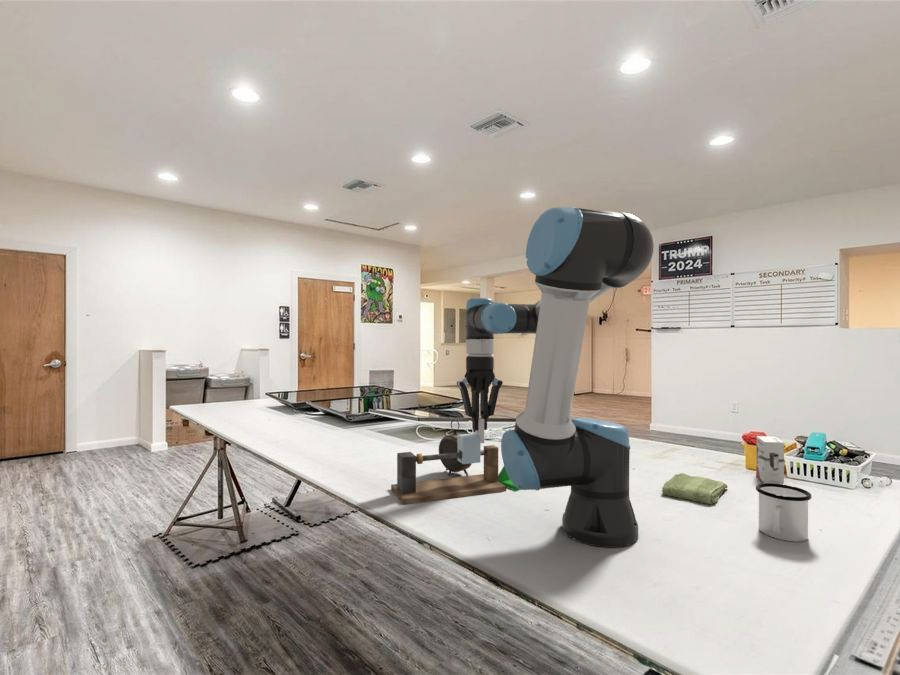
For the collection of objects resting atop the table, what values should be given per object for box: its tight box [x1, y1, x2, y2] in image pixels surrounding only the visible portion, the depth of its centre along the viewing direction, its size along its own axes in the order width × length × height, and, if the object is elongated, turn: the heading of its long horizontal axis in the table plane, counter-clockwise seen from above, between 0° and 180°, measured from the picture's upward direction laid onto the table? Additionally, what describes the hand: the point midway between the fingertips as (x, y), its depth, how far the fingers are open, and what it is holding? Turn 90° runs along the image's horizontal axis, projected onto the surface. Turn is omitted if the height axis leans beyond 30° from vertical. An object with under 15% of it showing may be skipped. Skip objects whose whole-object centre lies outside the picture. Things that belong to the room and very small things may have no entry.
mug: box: [755, 482, 812, 543], centre depth 96 cm, size 12×10×9 cm
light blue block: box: [457, 432, 481, 464], centre depth 126 cm, size 5×4×7 cm
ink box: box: [755, 435, 785, 485], centre depth 134 cm, size 9×5×12 cm, turn 161°
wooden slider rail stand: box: [390, 444, 507, 505], centre depth 124 cm, size 28×12×10 cm, turn 111°
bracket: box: [498, 465, 521, 492], centre depth 131 cm, size 12×8×7 cm, turn 131°
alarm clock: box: [438, 419, 473, 477], centre depth 138 cm, size 11×5×16 cm, turn 45°
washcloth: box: [661, 472, 728, 505], centre depth 124 cm, size 13×18×3 cm
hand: (479, 442), depth 128 cm, fingers closed
